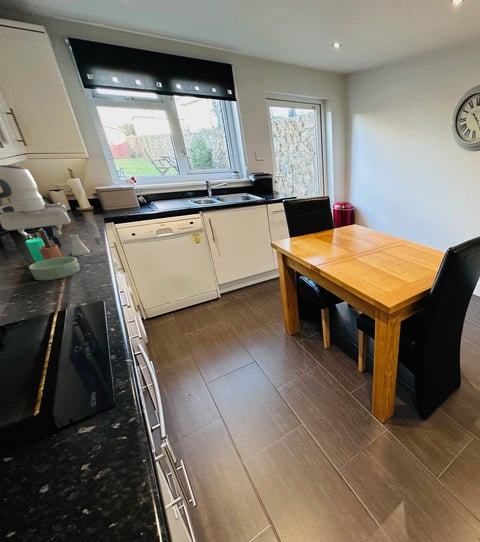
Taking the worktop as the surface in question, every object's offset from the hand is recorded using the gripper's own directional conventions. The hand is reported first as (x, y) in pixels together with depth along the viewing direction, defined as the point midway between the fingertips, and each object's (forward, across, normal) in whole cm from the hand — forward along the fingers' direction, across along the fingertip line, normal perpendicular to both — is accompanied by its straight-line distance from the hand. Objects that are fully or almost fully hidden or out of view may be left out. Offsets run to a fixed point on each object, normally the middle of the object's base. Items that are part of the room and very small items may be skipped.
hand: (44, 236), depth 126 cm
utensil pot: (+14, 0, 0) cm, 14 cm away
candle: (+14, +5, -10) cm, 18 cm away
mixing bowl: (+14, -2, +15) cm, 20 cm away
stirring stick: (+13, 0, 0) cm, 13 cm away
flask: (+14, -8, -12) cm, 20 cm away
